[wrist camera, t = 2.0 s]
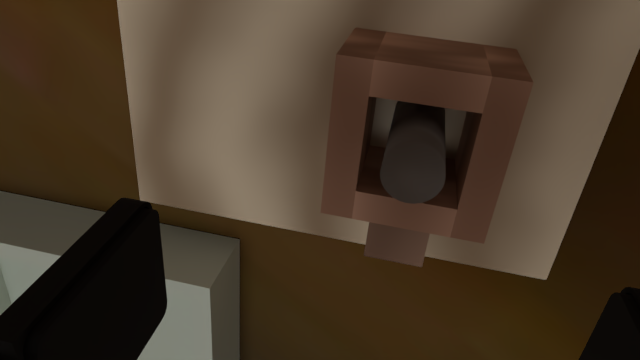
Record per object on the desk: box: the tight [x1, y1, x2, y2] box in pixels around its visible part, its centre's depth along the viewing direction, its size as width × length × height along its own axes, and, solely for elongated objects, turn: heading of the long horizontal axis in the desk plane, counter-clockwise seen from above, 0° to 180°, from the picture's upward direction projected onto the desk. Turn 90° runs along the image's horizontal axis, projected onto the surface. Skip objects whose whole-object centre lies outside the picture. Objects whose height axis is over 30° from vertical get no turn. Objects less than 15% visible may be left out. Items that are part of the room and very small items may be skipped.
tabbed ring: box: [320, 28, 534, 267], centre depth 19 cm, size 6×8×4 cm
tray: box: [0, 191, 240, 360], centre depth 30 cm, size 16×16×4 cm
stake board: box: [117, 0, 640, 280], centre depth 19 cm, size 20×14×6 cm
